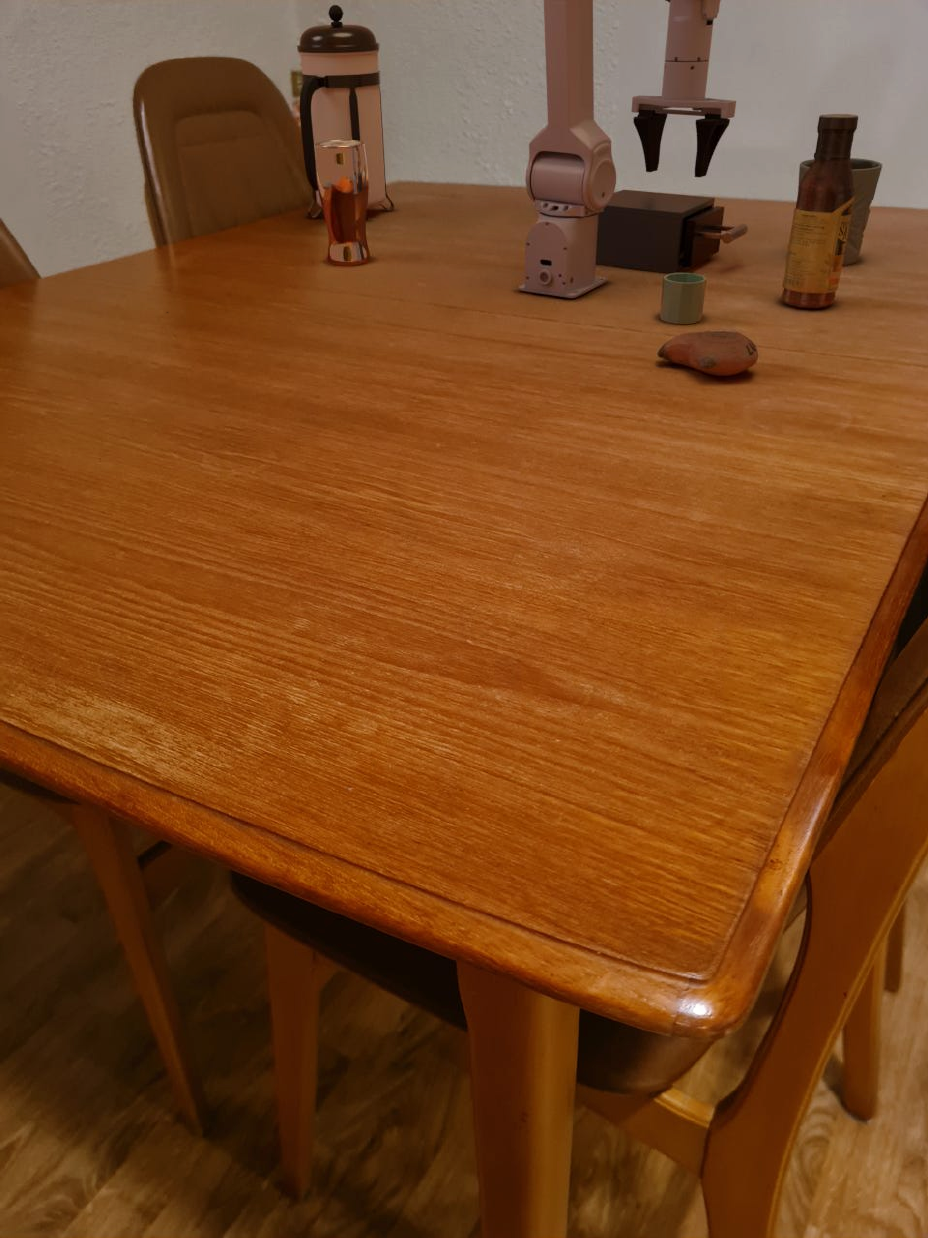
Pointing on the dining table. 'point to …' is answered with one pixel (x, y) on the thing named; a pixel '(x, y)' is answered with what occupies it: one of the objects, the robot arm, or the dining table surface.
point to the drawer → (706, 235)
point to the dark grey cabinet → (645, 229)
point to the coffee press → (342, 98)
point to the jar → (682, 298)
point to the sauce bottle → (822, 217)
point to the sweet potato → (711, 351)
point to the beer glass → (344, 199)
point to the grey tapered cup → (856, 201)
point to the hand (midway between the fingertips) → (675, 173)
